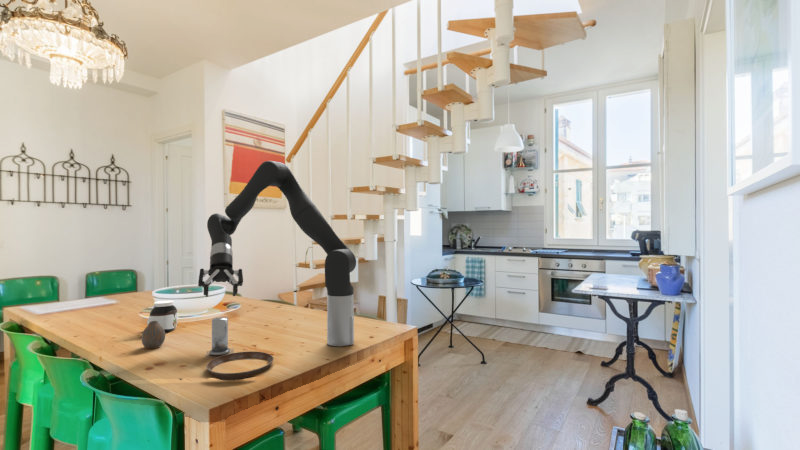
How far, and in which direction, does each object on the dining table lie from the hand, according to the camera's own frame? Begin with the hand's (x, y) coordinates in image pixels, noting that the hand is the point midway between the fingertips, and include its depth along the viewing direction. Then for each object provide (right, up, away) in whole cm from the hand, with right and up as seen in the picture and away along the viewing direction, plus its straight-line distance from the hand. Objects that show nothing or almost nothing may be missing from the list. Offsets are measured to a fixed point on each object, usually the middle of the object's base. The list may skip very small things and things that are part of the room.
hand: (220, 295), depth 132 cm
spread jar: (-35, -18, +22) cm, 45 cm away
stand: (+4, -18, -10) cm, 21 cm away
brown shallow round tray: (+16, -18, -22) cm, 33 cm away
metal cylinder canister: (+4, -17, -10) cm, 20 cm away
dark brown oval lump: (-23, -18, 0) cm, 30 cm away
